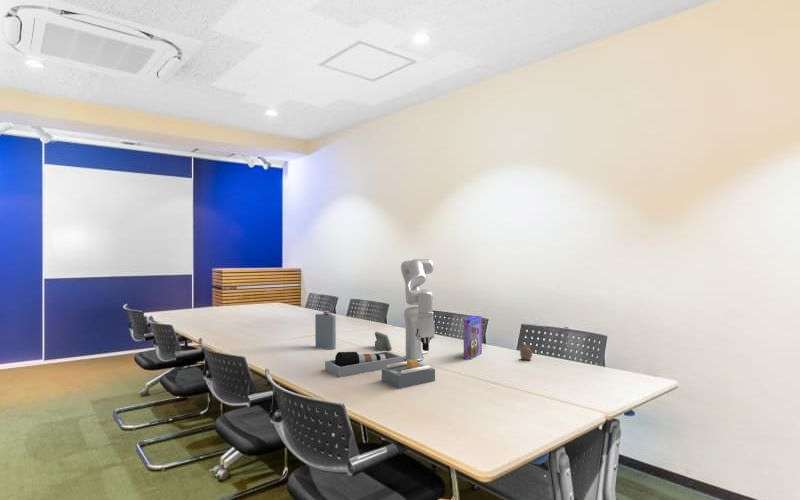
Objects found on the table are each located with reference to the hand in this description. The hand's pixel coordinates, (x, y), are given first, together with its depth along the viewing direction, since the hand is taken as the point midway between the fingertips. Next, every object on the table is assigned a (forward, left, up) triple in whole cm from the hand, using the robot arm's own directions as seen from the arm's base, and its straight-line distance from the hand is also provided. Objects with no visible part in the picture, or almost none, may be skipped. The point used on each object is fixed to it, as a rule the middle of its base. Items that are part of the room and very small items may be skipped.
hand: (425, 350), depth 234 cm
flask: (+13, -95, -14) cm, 96 cm away
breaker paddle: (+8, -1, -8) cm, 11 cm away
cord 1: (+11, -7, -8) cm, 15 cm away
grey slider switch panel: (+11, -1, -14) cm, 18 cm away
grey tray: (+17, -35, -14) cm, 41 cm away
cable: (+16, -35, -15) cm, 41 cm away
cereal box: (-52, -20, -14) cm, 58 cm away
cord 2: (+11, +6, -8) cm, 15 cm away
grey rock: (-17, -69, -15) cm, 73 cm away
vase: (-72, +5, -14) cm, 74 cm away
